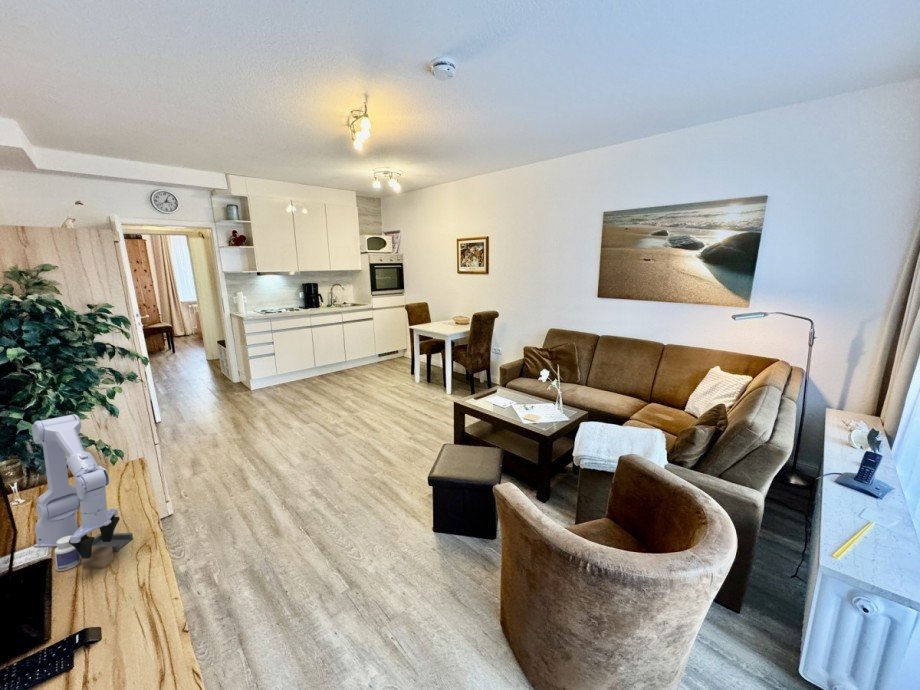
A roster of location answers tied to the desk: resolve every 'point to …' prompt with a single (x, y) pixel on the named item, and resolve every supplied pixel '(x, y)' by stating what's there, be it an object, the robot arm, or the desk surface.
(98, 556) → the walnut block
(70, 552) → the pill bottle
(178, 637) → the desk surface
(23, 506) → the desk surface
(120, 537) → the gray u-shaped channel bracket
